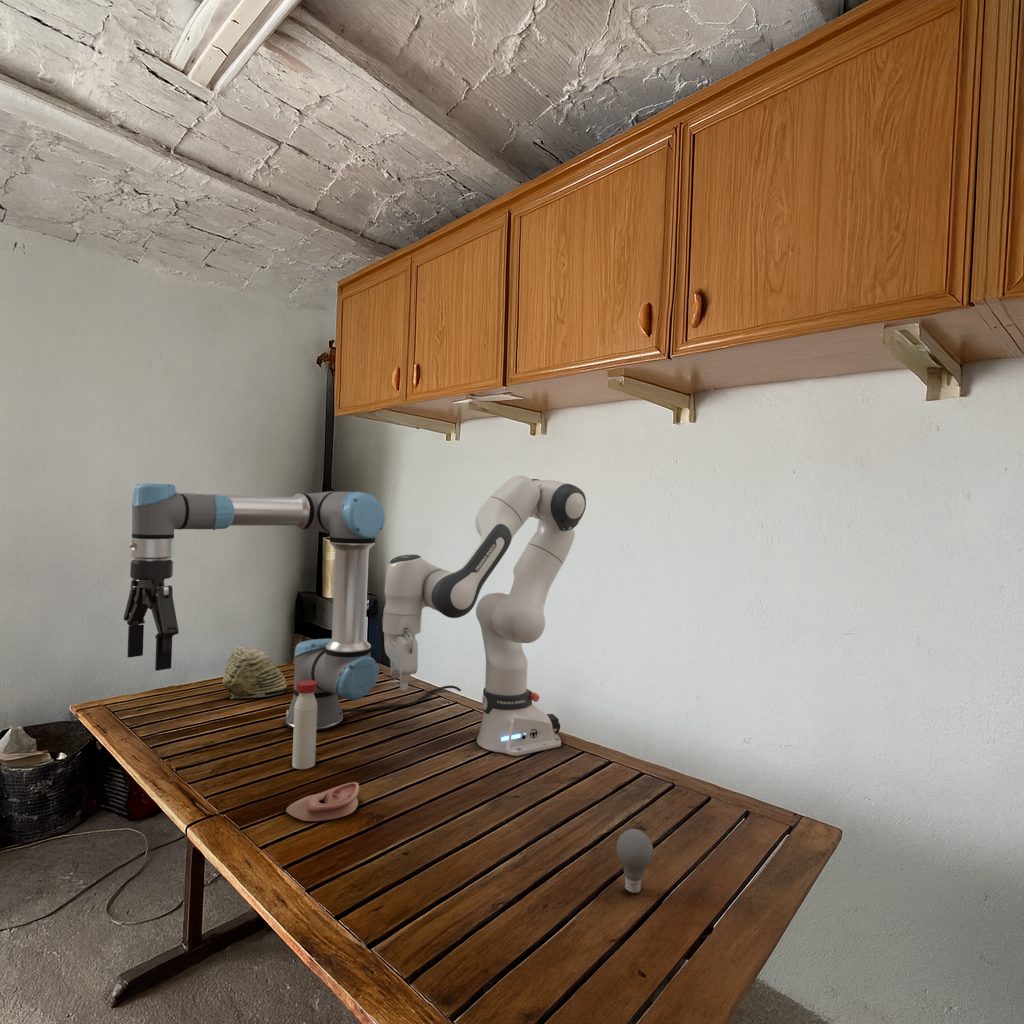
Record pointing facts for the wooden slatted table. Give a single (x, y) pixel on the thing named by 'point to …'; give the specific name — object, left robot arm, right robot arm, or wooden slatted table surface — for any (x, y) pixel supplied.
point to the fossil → (252, 674)
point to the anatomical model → (326, 804)
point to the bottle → (304, 731)
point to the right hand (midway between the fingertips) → (399, 683)
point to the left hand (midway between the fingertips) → (148, 662)
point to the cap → (306, 686)
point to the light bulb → (634, 857)
